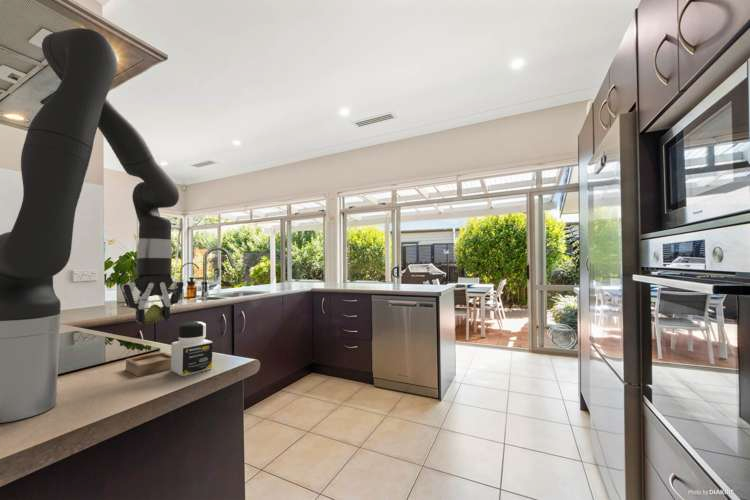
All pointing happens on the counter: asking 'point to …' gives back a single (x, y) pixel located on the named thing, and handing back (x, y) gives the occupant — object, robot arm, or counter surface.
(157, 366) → the base
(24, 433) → the counter surface
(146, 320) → the lime
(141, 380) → the counter surface
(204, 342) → the medicine bottle
